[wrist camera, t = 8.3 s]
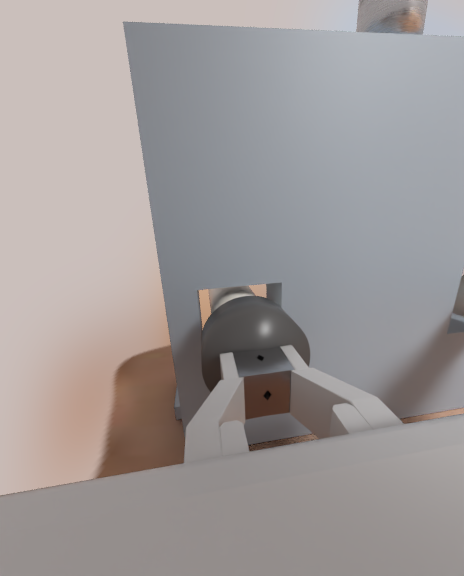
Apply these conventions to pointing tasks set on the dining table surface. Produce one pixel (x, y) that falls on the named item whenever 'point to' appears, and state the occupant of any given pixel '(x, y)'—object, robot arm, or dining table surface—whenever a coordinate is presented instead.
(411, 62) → the mount
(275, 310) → the knob
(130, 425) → the dining table surface
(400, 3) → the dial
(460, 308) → the knob
